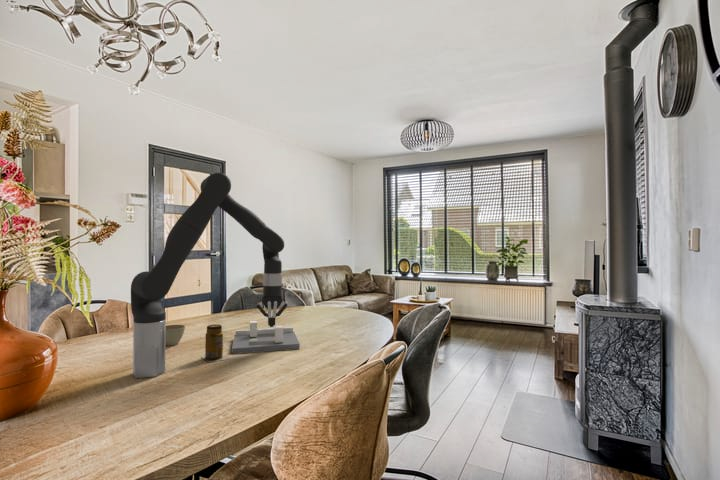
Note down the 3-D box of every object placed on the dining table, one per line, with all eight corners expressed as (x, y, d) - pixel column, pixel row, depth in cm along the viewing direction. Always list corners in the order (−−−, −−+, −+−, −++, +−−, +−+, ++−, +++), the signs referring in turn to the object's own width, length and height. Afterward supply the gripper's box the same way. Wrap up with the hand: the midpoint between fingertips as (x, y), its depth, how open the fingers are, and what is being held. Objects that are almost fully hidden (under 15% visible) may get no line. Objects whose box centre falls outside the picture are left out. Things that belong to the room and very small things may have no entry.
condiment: (220, 353, 144) (220, 322, 144) (228, 359, 138) (228, 326, 138) (200, 357, 140) (200, 325, 140) (207, 363, 133) (208, 329, 133)
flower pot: (177, 347, 152) (177, 329, 152) (153, 347, 152) (153, 329, 152) (189, 340, 162) (189, 324, 162) (166, 340, 162) (166, 324, 162)
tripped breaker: (282, 342, 153) (282, 327, 153) (275, 342, 152) (275, 327, 152) (282, 339, 156) (282, 325, 156) (274, 340, 156) (274, 325, 156)
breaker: (256, 336, 161) (257, 322, 161) (249, 337, 160) (249, 323, 160) (256, 334, 165) (256, 320, 165) (249, 334, 164) (249, 321, 164)
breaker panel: (299, 348, 151) (299, 338, 151) (231, 353, 144) (232, 343, 144) (293, 335, 173) (293, 326, 173) (234, 339, 165) (234, 330, 165)
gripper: (255, 285, 148) (254, 329, 148) (289, 285, 151) (288, 327, 151) (255, 283, 155) (254, 325, 155) (288, 283, 159) (287, 324, 158)
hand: (271, 326), depth 153 cm, fingers closed
